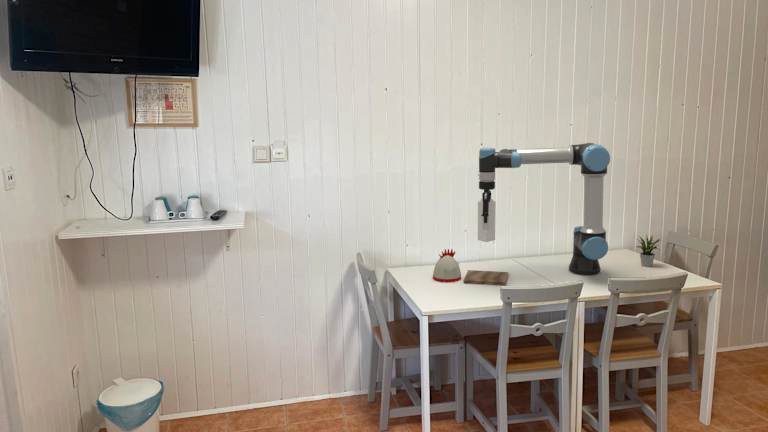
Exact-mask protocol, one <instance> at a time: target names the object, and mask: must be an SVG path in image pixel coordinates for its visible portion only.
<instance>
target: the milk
mask: <svg viewBox="0 0 768 432" xmlns="http://www.w3.org/2000/svg"><path fill="white" fill-rule="evenodd" d="M482 214H483V196H482V195H481V198H480V199H479V200H478V201H477V241H481V242H485V243H488V242H493V241H496V201H495V200H494V199H492V196H491V197H490V202H489V212H488V215H489V230H483V216H481V215H482Z"/></svg>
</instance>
